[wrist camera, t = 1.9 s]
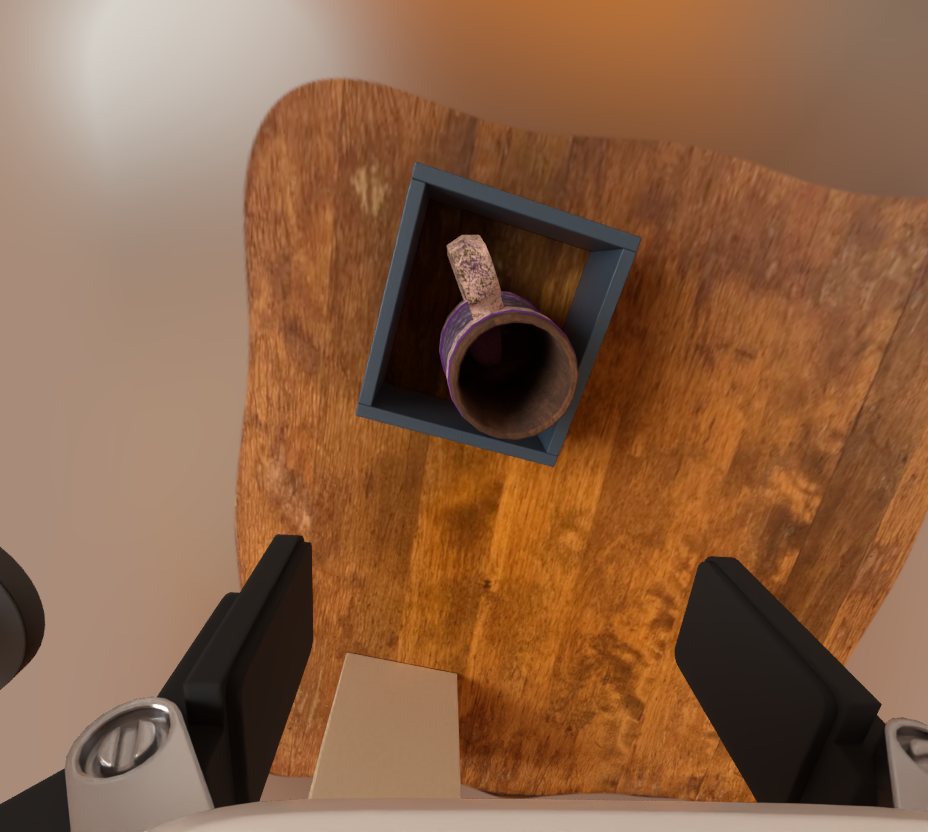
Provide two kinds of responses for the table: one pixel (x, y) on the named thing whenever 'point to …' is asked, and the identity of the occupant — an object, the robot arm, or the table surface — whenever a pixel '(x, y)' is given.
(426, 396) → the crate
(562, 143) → the table surface
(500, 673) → the table surface
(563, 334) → the mug
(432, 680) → the block
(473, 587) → the table surface
